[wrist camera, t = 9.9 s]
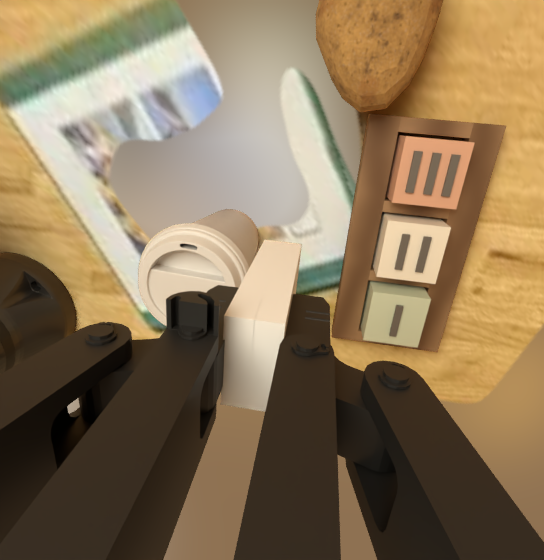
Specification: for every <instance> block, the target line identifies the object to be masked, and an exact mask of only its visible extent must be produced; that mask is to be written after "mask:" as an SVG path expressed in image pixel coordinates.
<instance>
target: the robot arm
mask: <svg viewBox="0 0 544 560" xmlns="http://www.w3.org/2000/svg"><path fill="white" fill-rule="evenodd" d="M301 245H302V244H297V243H289V242H281V241H272V240H264V242H263V243H262V245H261V247H260V249H259V251H258V253H257V255H256V257H255V258H254V260H253V262H252V264H251V266H250V268H249V270H248V272H247V273H246V275H245V277H244V279H243V281H242V283H241V285H240V287H239V288H238V287H230V286H223V285H217V286H215V287H214V288H212V289H210V290H208V291H207V293H205V292H201V291H186V292H179V293H176V294H173V295H171V296H169V297H168V298H167V299H166V321H167V329H166V330H165V331H164V333H163V334H162V335H161V337H160V338H158V339H146V340H132V336H131V331H130V330H129V328H128V327H126V326H124V325H122V324H118V323H112V322H107V323H105V322H102V323H98V324H93V325H89V326H87V327H84V328H82V329H80V330H78V331H76V332H74V330H75V326H76V314H75V309H74V305H73V302H72V300H71V297H70V295H69V293H68V292H67V290H66V288H65V287H64V285H63V284H62V283H61V282H60V280H59V279H58V278H57V277H56V276H55V275H54V274H53V273H52V272H51V271H50V270H48V269H47V268H46V267H45V266H43V265H42V264H40V263H38V262H37V261H35V260H33V259H31V258H29V257H26V256H23V255H20V254H15V253H0V560H163V558H164V556H165V553H166V550H167V548H168V545H169V542H170V540H171V537H172V534H173V532H174V529H175V526H176V524H177V521H178V518H179V515H180V513H181V510H182V507H183V505H184V502H185V499H186V497H187V494H188V491H189V488H190V486H191V483H192V481H193V478H194V475H195V472H196V470H197V467H198V464H199V462H200V459H201V456H202V454H203V451H204V448H205V445H206V443H207V440H208V437H209V435H210V432H211V429H212V427H213V424H214V421H215V418H216V402H217V399H218V397H219V394H220V392H221V404H222V405H228V406H234V407H240V408H246V409H252V410H258V411H265V416H264V421H263V425H262V430H261V434H260V439H259V444H258V448H257V453H256V458H255V462H254V467H253V472H252V477H251V481H250V486H249V490H248V495H247V500H246V504H245V509H244V513H243V519H242V523H241V528H240V532H239V537H238V541H237V547H236V551H235V555H234V560H341V554H340V526H339V525H340V524H339V523H340V522H339V493H338V460H337V454H338V455H340V456H342V457H344V458H345V459H346V467H347V470H348V473H349V476H350V479H351V482H352V485H353V488H354V491H355V494H356V497H357V500H358V503H359V506H360V509H361V512H362V515H363V518H364V521H365V524H366V527H367V530H368V533H369V536H370V539H371V542H372V545H373V548H374V551H375V553H376V557H377V560H544V542H543V541H542V539H541V538H540V537H539V535H538V534H537V533H536V531H535V530H534V529H533V528H532V526H531V524H530V523H529V522H528V521H527V519H526V518H525V516H524V515H523V514H522V513H521V511H520V510H519V508H518V507H517V506H516V504H515V503H514V501H513V500H512V499H511V497H510V496H509V495H508V493H507V492H506V491H505V489H504V488H503V486H502V485H501V484H500V483H499V481H498V480H497V479H496V477H495V476H494V474H493V473H492V472H491V470H490V469H489V468H488V466H487V465H486V463H485V462H484V461H483V459H482V458H481V457H480V455H479V454H478V453H477V451H476V450H475V449H474V448H473V446H472V444H471V443H470V442H469V440H468V439H467V438H466V436H465V435H464V434H463V432H462V431H461V430H460V428H459V427H458V426H457V424H456V423H455V422H454V420H453V419H452V418H451V416H450V415H449V413H448V412H447V411H446V409H445V408H444V407H443V405H442V404H441V402H440V401H439V400H438V398H437V397H436V396H435V394H434V393H433V392H432V390H431V389H430V388H429V386H428V385H427V383H426V382H425V381H424V379H423V378H422V377H421V376H420V375H419V374H418V373H417V372H416V371H414V370H412V369H410V368H409V367H407V366H405V365H402V364H399V363H396V362H390V361H377V362H373V363H371V364H369V365H367V367H366V369H365V371H364V372H363V371H361V370H358V369H355V368H353V367H350V366H348V365H346V364H344V363H343V362H341V361H339V360H338V359H337V358H336V357H335V356H334V351H333V348H332V346H331V345H330V305H329V304H328V303H327V302H326V301H325V299H324V298H322V297H314V296H307V295H299V294H296V287H297V278H298V270H299V262H300V253H301ZM77 398H79V404H80V408H78V409H77V410H76V411H75V412H72V413H70V414H69V413H68V409H67V406H68V405H69V404H70V403H72V402H73V401H74V400H76V399H77Z"/></svg>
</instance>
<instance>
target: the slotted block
mask: <svg viewBox="0 0 544 560" xmlns="http://www.w3.org/2000/svg"><path fill="white" fill-rule="evenodd" d="M430 301H431V298H430V297H429V295H428V293H427V292H426V290H425V288H424V287H420V286H412V285H404V284H396V283H388V282H380V281H372V280H368V285H367V290H366V295H365V300H364V305H363V310H362V315H361V320H360V325H361V331H362V336H363V340H367V341H374V342H381V343H388V344H395V345H402V346H409V347H416V348H418V345H419V341H420V337H421V334H422V330H423V327H424V323H425V319H426V316H427V312H428V309H429V305H430Z"/></svg>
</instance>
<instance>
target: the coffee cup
mask: <svg viewBox="0 0 544 560" xmlns="http://www.w3.org/2000/svg"><path fill="white" fill-rule="evenodd" d="M258 243H259V235H258V231H257V228H256V226H255V224H254V222H253V221H252V220H251V219H250V218H249V217H248V216H247V215H246V214H244V213H242V212H240V211H237V210H233V209H225V210H221V211H218V212H216V213H214V214H211V215H209V216H207V217H205V218H203V219H200V220H198V221H196V222H194V223H190V224H189V223H187V224H186V223H185V224H177V225H173V226H170V227H168V228H165V229H164V230H162V231H160V232H159V233H158V234H156V235H155V236H154V237H153V238H152V239H151V240H150V241H149V243H148V244H147V246H146V247H145V249H144V251H143V253H142V256H141V259H140V263H139V269H138V285H139V291H140V295H141V297H142V300H143V302H144V304H145V306H146V307H147V309H148V310H149V311H150V313H151V314H152V315H153V316H154V317H155V318H156V319H157V320H158V321H160V322H161V323H162V324H164V325H165V326H167V321H166V299H167V298H168V297H169V296H171V295H173V294H176V293H179V292H186V291H201V292H205V293H207V291H208V290H210V289H212V288H214V287H215V286H217V285H223V286H230V287H238V288H239V287H240V285H241V283H242V281H243V279H244V277H245V275H246V273H247V272H248V270H249V268H250V266H251V264H252V262H253V260H254V258H255V254H256V251H257V247H258Z"/></svg>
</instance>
